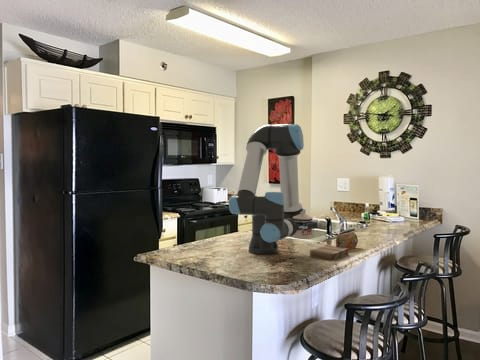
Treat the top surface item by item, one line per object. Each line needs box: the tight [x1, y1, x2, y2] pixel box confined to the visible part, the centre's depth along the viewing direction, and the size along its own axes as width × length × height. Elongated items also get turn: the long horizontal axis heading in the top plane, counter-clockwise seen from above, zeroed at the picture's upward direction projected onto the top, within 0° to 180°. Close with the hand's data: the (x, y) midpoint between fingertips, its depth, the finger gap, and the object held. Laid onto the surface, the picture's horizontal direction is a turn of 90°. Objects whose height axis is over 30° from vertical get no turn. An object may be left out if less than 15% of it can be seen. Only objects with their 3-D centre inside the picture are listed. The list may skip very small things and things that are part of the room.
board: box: [309, 244, 349, 261], centre depth 188 cm, size 16×12×3 cm
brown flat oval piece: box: [335, 232, 359, 251], centre depth 203 cm, size 15×3×8 cm, turn 126°
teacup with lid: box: [292, 212, 314, 240], centre depth 177 cm, size 12×9×12 cm
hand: (307, 221), depth 181 cm, fingers closed on teacup with lid, 9 cm apart
